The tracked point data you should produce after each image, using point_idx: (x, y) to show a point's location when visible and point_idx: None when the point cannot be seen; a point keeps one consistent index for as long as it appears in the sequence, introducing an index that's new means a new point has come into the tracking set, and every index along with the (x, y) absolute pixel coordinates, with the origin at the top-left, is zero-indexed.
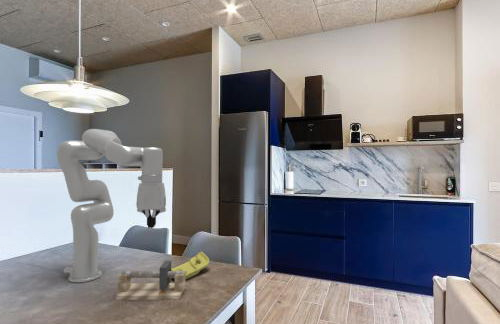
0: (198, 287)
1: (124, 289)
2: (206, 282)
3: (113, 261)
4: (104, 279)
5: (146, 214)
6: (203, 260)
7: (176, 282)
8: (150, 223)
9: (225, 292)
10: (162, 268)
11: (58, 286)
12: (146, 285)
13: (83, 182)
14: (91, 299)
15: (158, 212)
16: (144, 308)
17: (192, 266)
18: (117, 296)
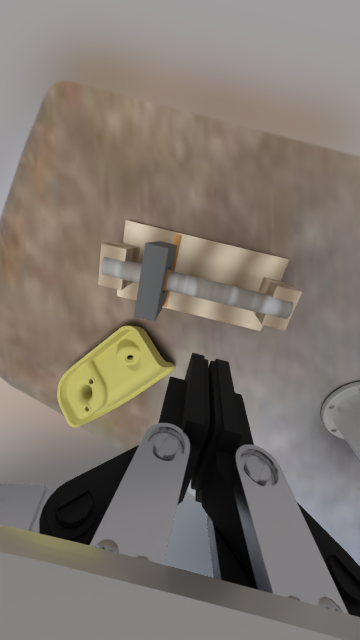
0: (88, 281)
1: (269, 279)
2: (71, 305)
3: (293, 477)
4: (313, 385)
5: (277, 493)
6: (73, 395)
7: (128, 247)
8: (207, 379)
9: (21, 234)
10: (158, 246)
11: None
12: (213, 305)
13: None
14: (344, 277)
15: (72, 494)
16: (213, 188)
17: (102, 378)
18: (284, 258)
